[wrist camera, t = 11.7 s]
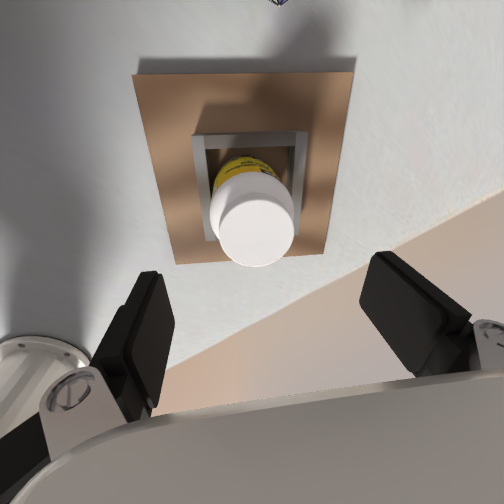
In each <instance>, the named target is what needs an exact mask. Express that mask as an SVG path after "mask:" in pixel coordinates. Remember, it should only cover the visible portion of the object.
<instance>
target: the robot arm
mask: <svg viewBox="0 0 504 504" xmlns="http://www.w3.org/2000/svg"><path fill="white" fill-rule="evenodd" d="M359 303H360V306H361V308H362V309H363V311H364V312H365V313H366V315H367V316H368V317H369V319H370V320H371V322H372V323H373V324H374V326H375V327H376V328H377V330H378V331H379V332H380V334H381V335H382V336H383V338H384V339H385V340H386V342H387V343H388V344H389V346H390V347H391V349H392V350H393V351H394V353H395V354H396V355H397V357H398V358H399V359H400V361H401V362H402V364H403V365H404V366H405V368H406V369H407V370H408V371H409V372H412V373H413V374H414V376H415V377H416V378H411V379H404V380H396V381H389V382H382V383H374V384H367V385H359V386H352V387H345V388H338V389H331V390H324V391H316V392H309V393H303V394H295V395H288V396H282V397H275V398H268V399H261V400H254V401H247V402H240V403H233V404H227V405H220V406H213V407H207V408H201V409H195V410H189V411H182V412H177V413H170V414H165V415H160V416H155V417H151V412H152V408H156V407H157V405H158V402H159V397H160V393H161V387H162V383H163V379H164V374H165V369H166V365H167V360H168V355H169V351H170V346H171V341H172V337H173V332H174V327H175V320H174V316H173V312H172V309H171V305H170V301H169V298H168V294H167V290H166V286H165V283H164V279H163V276H162V274H158V273H157V271H146V272H141V273H140V275H139V277H138V279H137V281H136V283H135V285H134V287H133V289H132V291H131V293H130V295H129V297H128V299H127V301H126V303H125V305H122V306H120V307H119V309H118V310H117V312H116V314H115V316H114V318H113V320H112V322H111V324H110V325H109V327H108V329H107V331H106V333H105V335H104V337H103V339H102V341H101V343H100V344H99V346H98V348H97V350H96V352H95V354H94V356H93V358H92V360H91V362H90V361H89V360H88V358H87V357H86V356H85V355H84V354H83V353H82V352H81V351H80V350H78V349H77V348H75V347H73V346H72V345H70V344H68V343H65V342H62V341H60V340H56V339H52V338H47V337H40V336H23V337H17V338H12V339H9V340H7V341H4V342H3V343H1V344H0V504H504V324H502V323H499V322H496V321H492V320H485V319H481V320H477V321H476V322H474V323H473V324H472V323H470V322H469V321H468V320H469V319H470V317H471V316H472V314H471V313H469V312H468V311H467V310H466V309H464V308H463V307H462V306H460V305H459V304H458V303H457V302H455V301H454V300H453V299H451V298H450V297H449V296H448V295H447V294H445V293H444V292H443V291H441V290H440V289H439V288H438V287H436V286H435V285H434V284H432V283H431V282H430V281H429V280H427V279H426V278H425V277H424V276H422V275H421V274H420V273H418V272H417V271H416V270H415V269H413V268H412V267H411V266H410V265H408V264H407V263H406V262H405V261H403V260H402V259H401V258H399V257H398V256H397V255H396V254H394V253H393V252H391V251H382V252H376V253H375V255H373V256H372V257H371V260H370V264H369V267H368V271H367V275H366V278H365V281H364V285H363V289H362V292H361V296H360V300H359ZM150 417H151V418H150Z"/></svg>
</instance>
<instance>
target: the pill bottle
mask: <svg viewBox="0 0 504 504" xmlns="http://www.w3.org/2000/svg"><path fill="white" fill-rule="evenodd" d="M293 218H294V205H293V201H292V198H291V196H290V193H289V192H288V190H287V188H286V187H285V186H284V184H283V183H282V182H281V180H280V179H279V178H278V176H277V175H276V174H275V172H274V171H273V170H272V169H271V167H270V166H269V165H268V164H267V163H266V162H264V161H263V160H262V159H260V158H258V157H255V156H251V155H240V156H236V157H233V158H231V159H230V160H228V161H227V162H225V163H224V164H223V165H222V167H221V168H220V169H219V171H218V173H217V175H216V178H215V182H214V187H213V194H212V199H211V204H210V222H211V226H212V229H213V231H214V233H215V235H216V236H217V238H218V239H219V241H220V244H221V247H222V249H223V250H224V252H225V253H226V255H227V256H228V257H229V258H231V259H232V260H233V261H235V262H237V263H239V264H242V265H245V266H251V267H259V266H264V265H268V264H271V263H273V262H275V261H277V260H278V259H280V258H281V257H282V256H283V255H284V254H285V253H286V252H287V251H288V249H289V248H290V246H291V244H292V241H293V238H294V224H293Z"/></svg>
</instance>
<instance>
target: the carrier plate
mask: <svg viewBox="0 0 504 504" xmlns="http://www.w3.org/2000/svg"><path fill="white" fill-rule="evenodd" d="M352 78H353V72H310V73H231V74H152V75H132V79H133V83H134V88H135V92H136V96H137V101H138V105H139V109H140V113H141V118H142V122H143V126H144V130H145V135H146V139H147V143H148V148H149V152H150V156H151V160H152V165H153V169H154V173H155V177H156V182H157V186H158V190H159V195H160V199H161V203H162V207H163V212H164V216H165V220H166V224H167V229H168V233H169V237H170V242H171V246H172V250H173V254H174V259H175V263H176V265H177V264H191V263H205V262H219V261H233V260H232V259H231V258H229V257H228V256H227V255H226V253H225V252H224V250H223V249H222V247H221V244H220V241H219V239H218V238H217V236H216V235H215V233H214V231H213V229H212V226H211V222H210V204H211V199H212V194H213V187H214V182H215V178H216V175H217V173H218V171H219V169H220V168H221V167H222V165H223V164H224V163H225V162H227V161H228V160H230V159H231V158H233V157H236V156H240V155H251V156H255V157H258V158H260V159H262V160H263V161H264V162H266V163H267V164H268V165H269V166H270V167H271V169H272V170H273V171H274V172H275V174H276V175H277V176H278V178H279V179H280V180H281V182H282V183H283V184H284V186H285V187H286V188H287V190H288V192H289V193H290V196H291V198H292V201H293V205H294V218H293V224H294V238H293V241H292V244H291V246H290V248H289V249H288V251H287V252H286V253H285V254H284V255H283V256H282V257H288V256H302V255H316V254H323V253H324V247H325V241H326V235H327V228H328V222H329V216H330V210H331V204H332V198H333V192H334V186H335V180H336V174H337V168H338V162H339V156H340V150H341V144H342V138H343V132H344V126H345V120H346V114H347V108H348V102H349V96H350V90H351V84H352Z"/></svg>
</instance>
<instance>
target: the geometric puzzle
mask: <svg viewBox="0 0 504 504" xmlns="http://www.w3.org/2000/svg"><path fill="white" fill-rule="evenodd" d="M269 1H270V0H269ZM272 1H273V0H272ZM272 1H271V2H272ZM286 1H288V0H277V2H278V4H277V3H276V2H274V1H273V3H274V4H276V5H278V8H280V6H281V5H282V4H284V3H285V2H286Z"/></svg>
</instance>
